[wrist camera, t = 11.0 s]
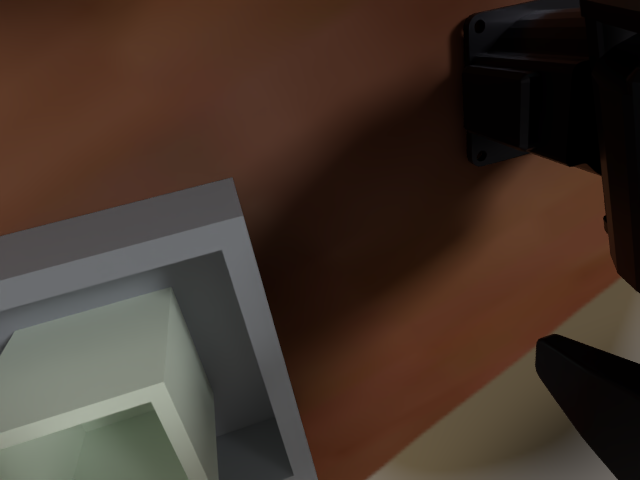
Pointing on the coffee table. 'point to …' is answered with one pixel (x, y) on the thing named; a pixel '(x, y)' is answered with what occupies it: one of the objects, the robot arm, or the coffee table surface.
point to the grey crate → (193, 299)
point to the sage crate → (107, 397)
